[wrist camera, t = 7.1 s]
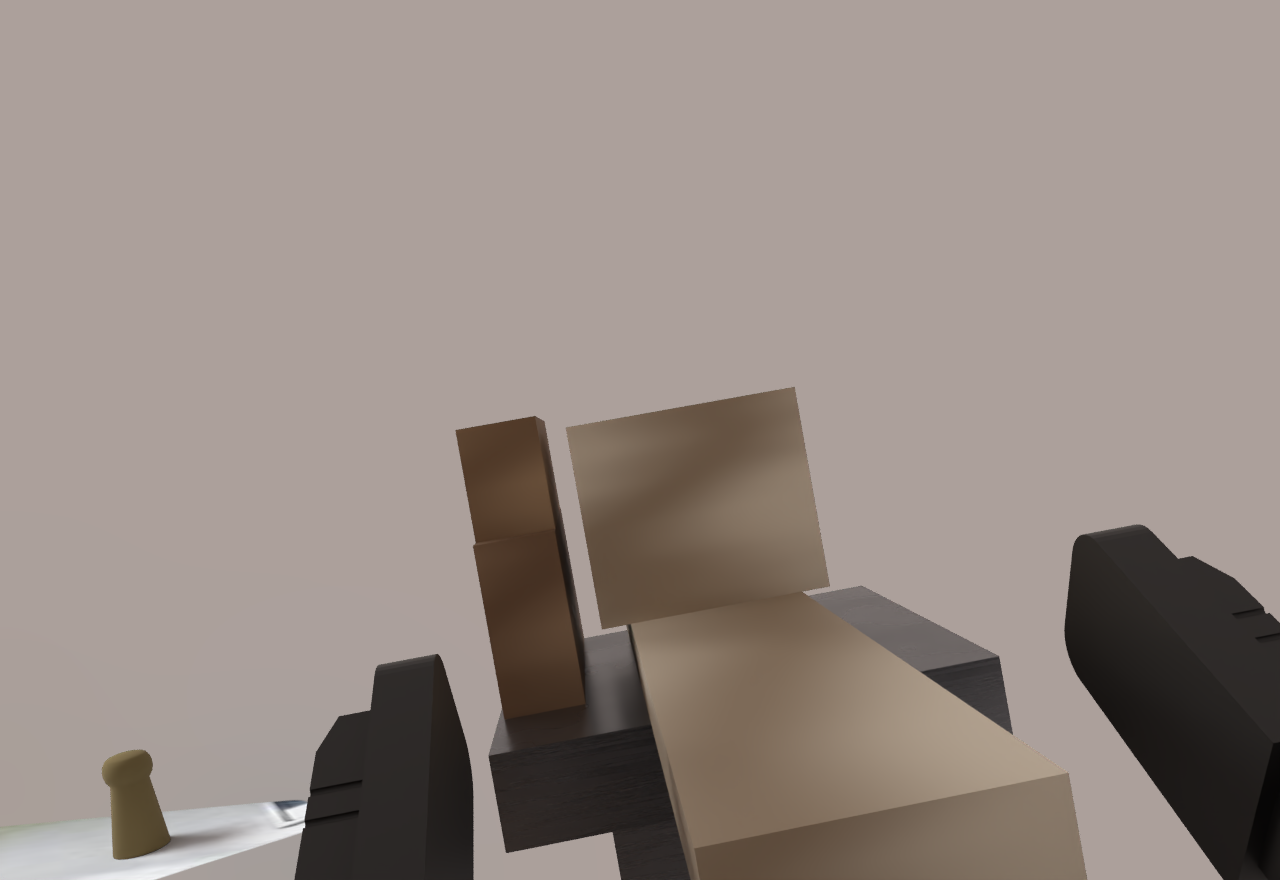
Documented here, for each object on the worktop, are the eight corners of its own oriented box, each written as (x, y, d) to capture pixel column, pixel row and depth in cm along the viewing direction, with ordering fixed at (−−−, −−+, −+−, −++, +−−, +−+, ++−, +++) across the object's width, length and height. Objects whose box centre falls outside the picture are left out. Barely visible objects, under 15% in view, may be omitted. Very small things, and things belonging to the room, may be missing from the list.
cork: (101, 861, 119) (83, 765, 118) (135, 839, 125) (118, 747, 124) (148, 856, 118) (130, 759, 117) (181, 834, 123) (164, 741, 123)
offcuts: (504, 719, 18) (451, 429, 18) (522, 650, 24) (483, 432, 24) (585, 703, 18) (533, 415, 18) (584, 638, 24) (545, 421, 24)
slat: (658, 1015, 8) (549, 412, 8) (605, 634, 24) (569, 430, 24) (1155, 908, 8) (1053, 322, 8) (777, 601, 24) (741, 399, 24)
